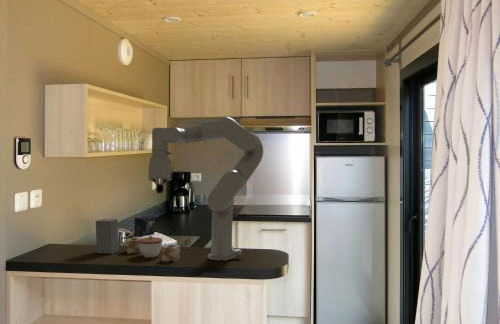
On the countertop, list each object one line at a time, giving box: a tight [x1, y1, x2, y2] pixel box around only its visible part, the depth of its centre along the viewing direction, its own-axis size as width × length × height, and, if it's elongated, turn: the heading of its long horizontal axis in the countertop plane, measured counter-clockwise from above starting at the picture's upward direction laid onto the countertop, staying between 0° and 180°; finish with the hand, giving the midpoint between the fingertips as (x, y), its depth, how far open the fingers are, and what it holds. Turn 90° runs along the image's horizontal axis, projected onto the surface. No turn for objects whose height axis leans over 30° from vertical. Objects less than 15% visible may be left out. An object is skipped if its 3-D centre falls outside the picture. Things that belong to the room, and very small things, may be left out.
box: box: [133, 215, 156, 238], centre depth 241 cm, size 11×7×10 cm, turn 148°
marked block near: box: [161, 244, 181, 263], centre depth 183 cm, size 6×6×6 cm
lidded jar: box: [138, 235, 163, 259], centre depth 190 cm, size 11×11×9 cm
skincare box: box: [95, 218, 120, 255], centre depth 195 cm, size 8×7×16 cm
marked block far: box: [126, 237, 142, 254], centre depth 198 cm, size 6×6×6 cm
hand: (159, 193), depth 193 cm, fingers closed
